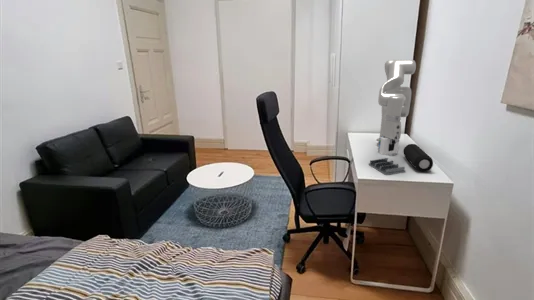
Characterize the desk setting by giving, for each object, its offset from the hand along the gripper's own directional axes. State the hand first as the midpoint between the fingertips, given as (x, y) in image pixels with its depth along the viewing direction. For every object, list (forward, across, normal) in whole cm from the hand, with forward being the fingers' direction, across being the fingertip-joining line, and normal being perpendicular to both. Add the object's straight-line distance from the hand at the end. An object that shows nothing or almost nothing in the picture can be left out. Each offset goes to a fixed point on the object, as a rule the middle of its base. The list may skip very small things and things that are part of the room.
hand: (388, 149), depth 168 cm
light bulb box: (+12, +22, -18) cm, 31 cm away
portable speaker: (+12, 0, -21) cm, 25 cm away
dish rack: (+12, 0, 0) cm, 12 cm away
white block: (+2, 0, 0) cm, 2 cm away
